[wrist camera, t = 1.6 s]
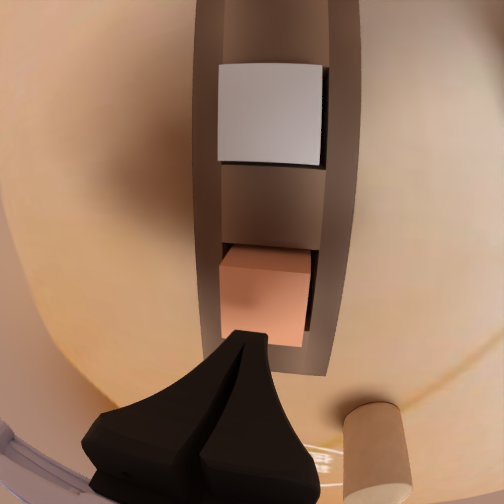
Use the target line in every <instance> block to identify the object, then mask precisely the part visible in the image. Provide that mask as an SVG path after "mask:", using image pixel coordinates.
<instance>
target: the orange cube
mask: <svg viewBox="0 0 504 504" xmlns="http://www.w3.org/2000/svg"><path fill="white" fill-rule="evenodd" d="M310 275H311V249H299V248H287V247H275V246H263V245H250V244H238V243H234V244H233V246H232V247H231V249H230V250H229V252H228V253H227V255H226V256H225V258H224V259H223V261H222V262H221V264H220V265H219V279H220V308H221V333H222V338H227V337H228V336H229V335H230V334H231V332H232V331H234V330H235V329H236V330H244V331H252V332H261V333H266V334H267V335H268V344H275V345H284V346H295V347H302V340H303V333H304V325H305V318H306V310H307V301H308V293H309V284H310Z"/></svg>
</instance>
